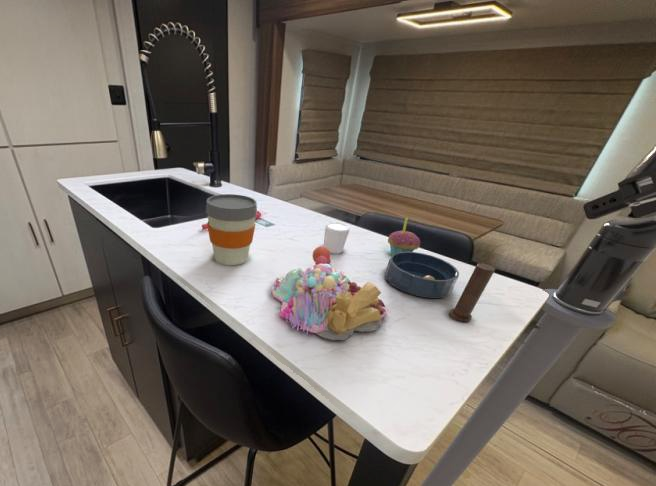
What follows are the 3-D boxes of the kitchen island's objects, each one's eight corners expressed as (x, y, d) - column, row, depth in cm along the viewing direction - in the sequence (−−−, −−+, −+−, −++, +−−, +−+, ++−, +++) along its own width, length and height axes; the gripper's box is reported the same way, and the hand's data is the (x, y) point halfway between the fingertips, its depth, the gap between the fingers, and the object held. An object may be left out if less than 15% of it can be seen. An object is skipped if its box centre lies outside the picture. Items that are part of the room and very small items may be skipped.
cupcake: (398, 263, 85) (413, 221, 78) (377, 251, 91) (389, 211, 85) (420, 259, 88) (437, 218, 81) (399, 247, 94) (412, 209, 88)
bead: (440, 280, 72) (429, 276, 74) (434, 276, 70) (423, 272, 73) (433, 291, 73) (422, 287, 75) (426, 287, 71) (416, 283, 73)
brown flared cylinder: (461, 311, 67) (487, 261, 60) (474, 322, 63) (503, 271, 57) (444, 312, 66) (469, 262, 60) (457, 323, 63) (484, 272, 56)
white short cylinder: (334, 243, 94) (339, 221, 91) (349, 252, 89) (355, 229, 86) (316, 246, 92) (320, 223, 88) (330, 255, 87) (335, 232, 83)
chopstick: (263, 221, 109) (255, 213, 111) (264, 216, 108) (256, 208, 110) (206, 235, 96) (198, 226, 97) (207, 229, 94) (199, 220, 96)
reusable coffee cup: (204, 267, 77) (202, 207, 68) (209, 246, 87) (208, 192, 79) (254, 269, 77) (258, 210, 69) (253, 248, 88) (257, 195, 79)
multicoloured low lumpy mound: (404, 311, 65) (419, 273, 60) (338, 361, 52) (351, 317, 47) (313, 266, 80) (319, 233, 75) (244, 296, 67) (246, 257, 62)
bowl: (428, 269, 83) (435, 252, 80) (464, 300, 71) (473, 281, 68) (375, 268, 82) (380, 250, 79) (401, 299, 69) (408, 280, 67)
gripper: (902, 81, 26) (638, 185, 42) (810, 66, 23) (561, 185, 39) (947, 158, 25) (657, 236, 41) (856, 155, 22) (579, 241, 37)
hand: (610, 211), depth 40 cm, fingers open, 8 cm apart
